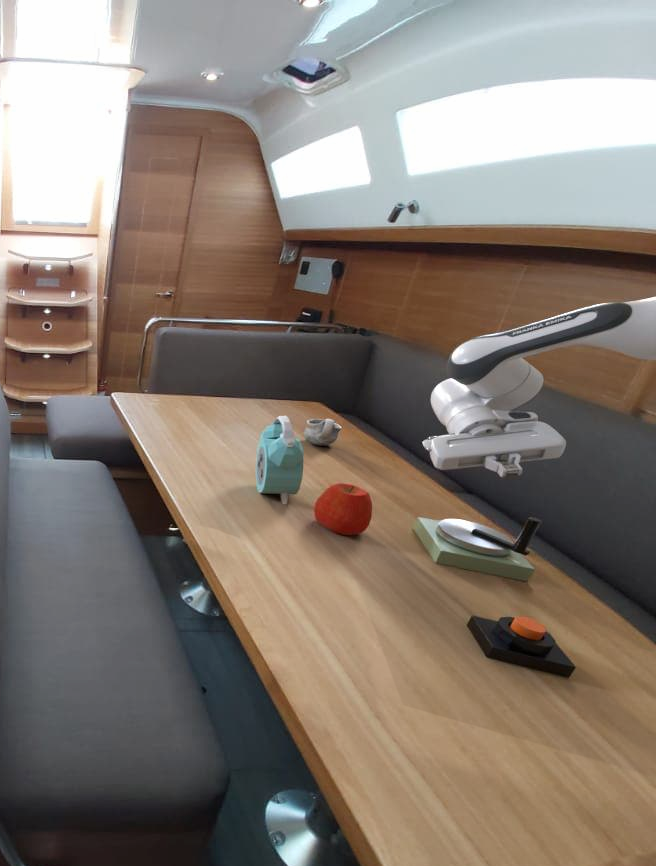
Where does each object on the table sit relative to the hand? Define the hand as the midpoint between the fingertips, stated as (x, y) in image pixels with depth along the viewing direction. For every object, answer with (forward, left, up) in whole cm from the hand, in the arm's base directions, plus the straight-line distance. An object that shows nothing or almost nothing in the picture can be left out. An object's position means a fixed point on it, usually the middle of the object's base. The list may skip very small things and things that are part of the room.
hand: (512, 473), depth 96 cm
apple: (+25, 0, -19) cm, 31 cm away
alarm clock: (+38, -13, -19) cm, 44 cm away
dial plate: (+1, 0, -19) cm, 19 cm away
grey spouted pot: (+21, -58, -19) cm, 65 cm away
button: (+5, +32, -15) cm, 35 cm away
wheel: (0, +1, -15) cm, 15 cm away
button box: (+5, +32, -19) cm, 37 cm away
